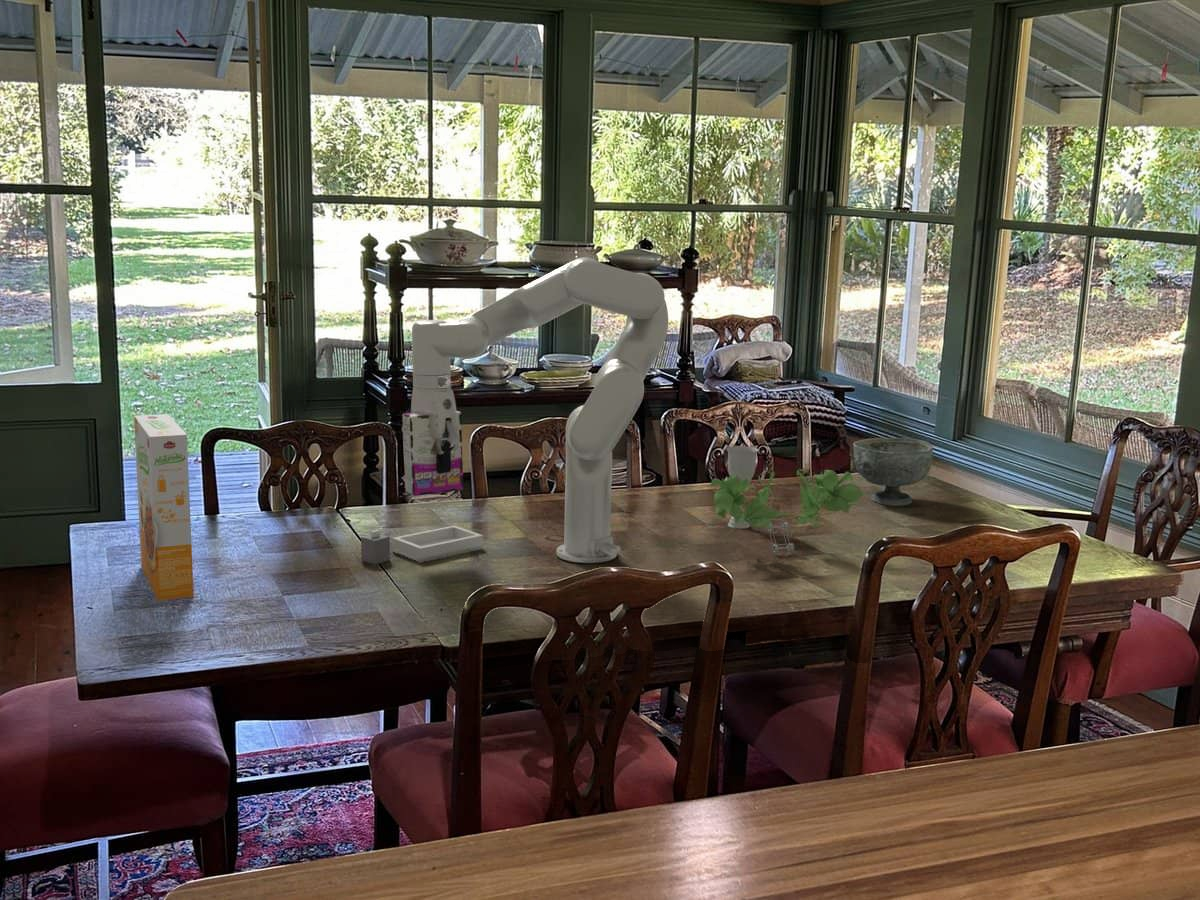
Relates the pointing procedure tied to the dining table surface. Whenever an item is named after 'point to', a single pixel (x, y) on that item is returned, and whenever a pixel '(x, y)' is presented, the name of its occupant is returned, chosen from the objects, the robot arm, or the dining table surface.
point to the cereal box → (164, 505)
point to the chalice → (741, 471)
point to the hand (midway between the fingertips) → (433, 469)
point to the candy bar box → (428, 458)
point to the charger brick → (375, 548)
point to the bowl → (893, 465)
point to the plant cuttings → (755, 514)
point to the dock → (437, 543)
